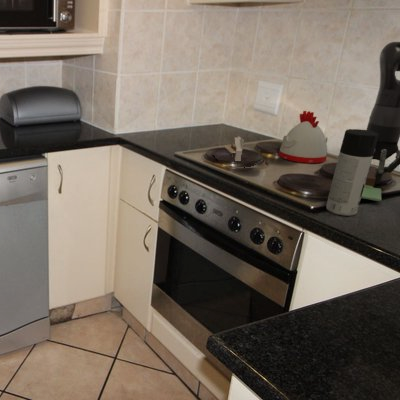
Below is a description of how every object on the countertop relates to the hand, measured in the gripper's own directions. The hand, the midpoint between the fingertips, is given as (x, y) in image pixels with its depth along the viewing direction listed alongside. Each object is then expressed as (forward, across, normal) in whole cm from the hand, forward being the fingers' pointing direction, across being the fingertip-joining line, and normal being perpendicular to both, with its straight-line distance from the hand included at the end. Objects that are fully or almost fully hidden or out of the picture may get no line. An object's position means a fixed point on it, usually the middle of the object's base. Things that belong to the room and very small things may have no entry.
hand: (367, 183), depth 131 cm
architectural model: (+2, -36, +6) cm, 37 cm away
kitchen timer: (+2, -18, +22) cm, 29 cm away
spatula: (0, 0, -2) cm, 3 cm away
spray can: (+2, -5, -22) cm, 23 cm away
